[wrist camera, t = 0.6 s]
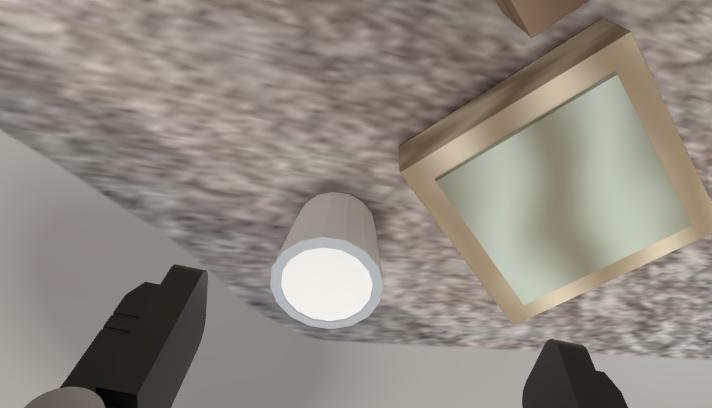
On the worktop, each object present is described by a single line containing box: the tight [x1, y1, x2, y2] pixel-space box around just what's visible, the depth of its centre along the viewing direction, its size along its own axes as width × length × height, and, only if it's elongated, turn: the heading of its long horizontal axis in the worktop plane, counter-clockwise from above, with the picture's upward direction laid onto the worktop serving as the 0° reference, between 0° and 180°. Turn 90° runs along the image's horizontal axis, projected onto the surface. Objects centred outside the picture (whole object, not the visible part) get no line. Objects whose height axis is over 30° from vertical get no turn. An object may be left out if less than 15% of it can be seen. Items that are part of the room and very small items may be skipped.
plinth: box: [399, 18, 712, 325], centre depth 33 cm, size 14×14×4 cm
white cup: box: [270, 192, 383, 329], centre depth 35 cm, size 7×7×7 cm
